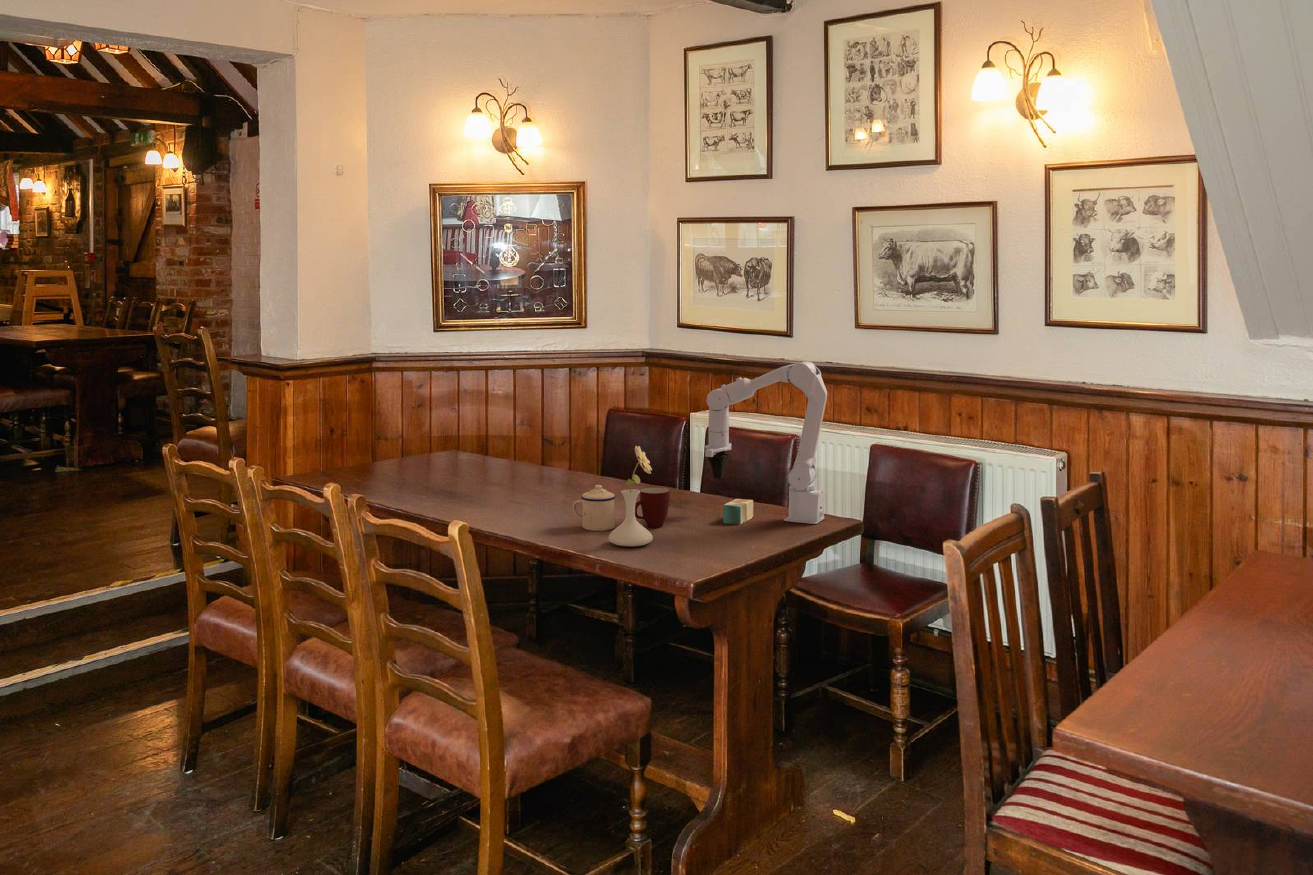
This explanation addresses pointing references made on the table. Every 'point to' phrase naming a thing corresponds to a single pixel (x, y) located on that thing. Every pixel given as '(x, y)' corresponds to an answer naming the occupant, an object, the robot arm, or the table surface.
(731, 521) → the birch block
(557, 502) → the table surface
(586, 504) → the teacup with lid
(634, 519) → the flower in vase
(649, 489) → the mug
